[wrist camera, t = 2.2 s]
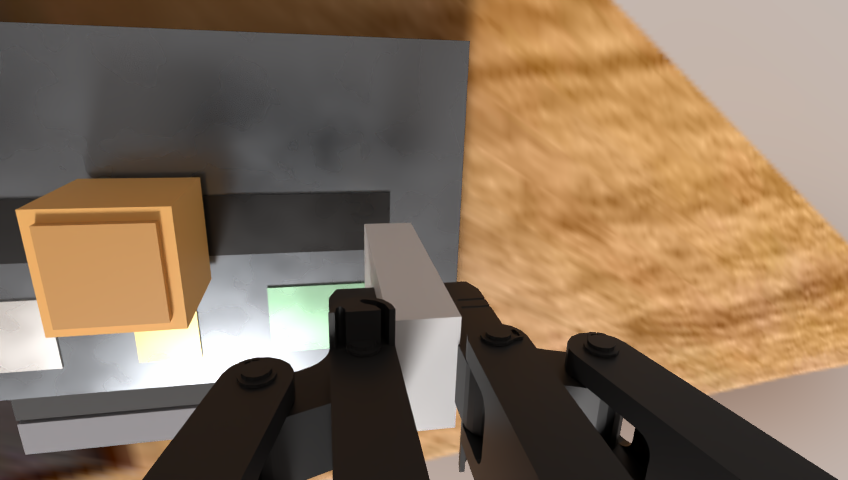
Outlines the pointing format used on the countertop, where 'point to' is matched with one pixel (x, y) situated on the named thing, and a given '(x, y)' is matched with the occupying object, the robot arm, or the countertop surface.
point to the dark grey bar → (109, 401)
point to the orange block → (117, 255)
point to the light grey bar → (102, 429)
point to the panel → (227, 180)
